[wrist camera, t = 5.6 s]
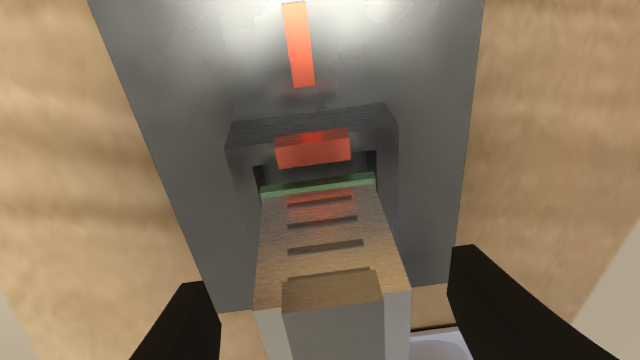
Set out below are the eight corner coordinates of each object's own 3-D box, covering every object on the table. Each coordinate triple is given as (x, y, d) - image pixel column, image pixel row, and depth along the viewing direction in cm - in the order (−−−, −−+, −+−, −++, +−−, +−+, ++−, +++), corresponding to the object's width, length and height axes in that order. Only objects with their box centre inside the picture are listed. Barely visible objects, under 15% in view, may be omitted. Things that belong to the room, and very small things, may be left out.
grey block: (376, 264, 15) (419, 421, 10) (282, 277, 15) (280, 440, 10) (372, 151, 12) (430, 294, 7) (256, 167, 12) (235, 320, 7)
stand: (444, 271, 21) (473, 330, 18) (219, 301, 21) (206, 366, 18) (481, -63, 12) (549, -65, 9) (94, -12, 12) (25, 4, 9)
